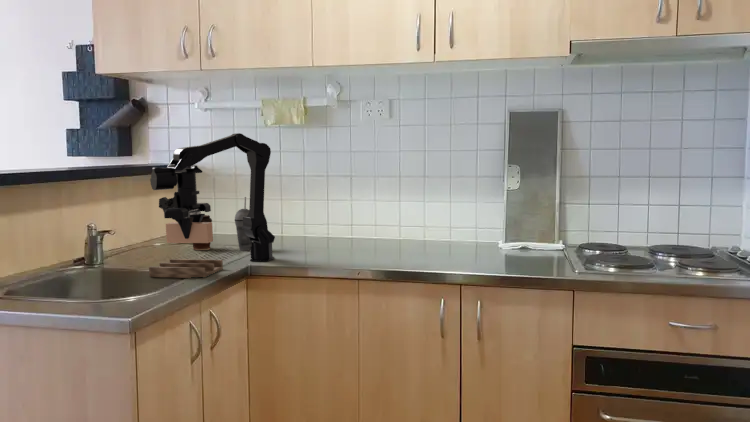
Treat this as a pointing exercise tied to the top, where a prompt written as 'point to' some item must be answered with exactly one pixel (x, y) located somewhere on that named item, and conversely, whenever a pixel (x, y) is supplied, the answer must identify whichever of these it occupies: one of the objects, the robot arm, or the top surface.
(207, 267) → the drying rack
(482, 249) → the top surface
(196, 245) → the coffee cup
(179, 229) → the pink rectangular block
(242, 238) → the beverage cup
